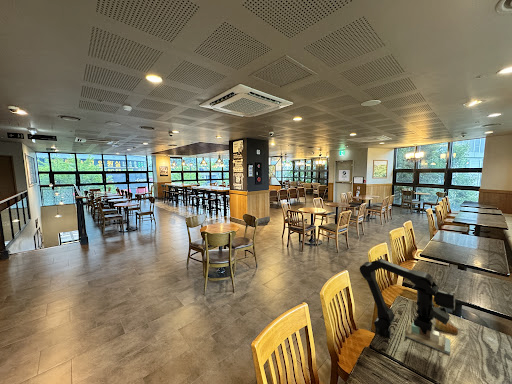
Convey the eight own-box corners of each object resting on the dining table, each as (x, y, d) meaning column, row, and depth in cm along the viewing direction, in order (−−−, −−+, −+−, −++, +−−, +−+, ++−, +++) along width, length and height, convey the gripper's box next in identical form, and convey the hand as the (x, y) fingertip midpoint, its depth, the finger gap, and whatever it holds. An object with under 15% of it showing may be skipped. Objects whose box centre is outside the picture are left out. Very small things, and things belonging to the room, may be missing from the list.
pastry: (457, 329, 114) (457, 323, 114) (458, 337, 109) (458, 330, 109) (434, 322, 120) (434, 316, 120) (434, 329, 115) (434, 322, 115)
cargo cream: (430, 338, 96) (430, 332, 96) (430, 335, 98) (430, 329, 98) (438, 342, 94) (438, 335, 93) (439, 338, 96) (439, 332, 96)
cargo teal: (411, 331, 101) (411, 325, 101) (412, 327, 103) (412, 322, 103) (419, 334, 99) (419, 328, 99) (420, 330, 101) (420, 324, 101)
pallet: (405, 335, 101) (405, 322, 100) (408, 327, 106) (408, 314, 105) (444, 351, 91) (444, 336, 91) (445, 341, 96) (445, 327, 96)
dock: (405, 339, 109) (405, 334, 109) (408, 328, 116) (408, 324, 116) (449, 357, 97) (449, 352, 97) (450, 344, 104) (450, 339, 104)
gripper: (447, 318, 85) (447, 354, 86) (448, 297, 98) (448, 329, 99) (413, 307, 93) (413, 340, 94) (419, 290, 106) (419, 319, 107)
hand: (424, 332), depth 98 cm, fingers closed on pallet, 2 cm apart
